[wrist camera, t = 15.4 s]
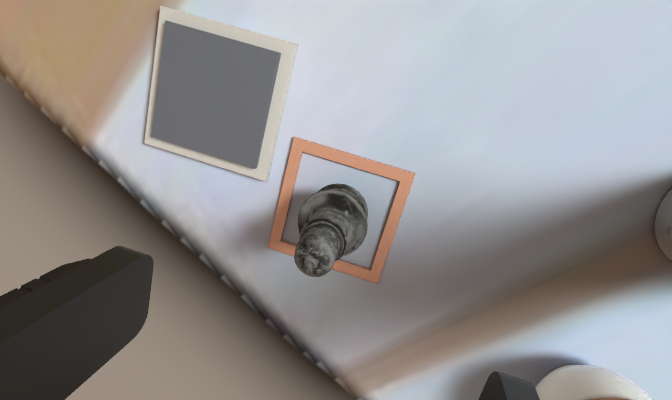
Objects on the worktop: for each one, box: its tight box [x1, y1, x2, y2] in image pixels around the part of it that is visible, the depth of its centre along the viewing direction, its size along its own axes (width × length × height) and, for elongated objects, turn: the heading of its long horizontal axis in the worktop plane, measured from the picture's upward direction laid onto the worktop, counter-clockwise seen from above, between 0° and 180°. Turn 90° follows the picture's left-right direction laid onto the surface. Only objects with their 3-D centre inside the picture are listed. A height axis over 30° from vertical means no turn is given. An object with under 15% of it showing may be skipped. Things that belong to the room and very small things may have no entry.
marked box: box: [268, 137, 415, 284], centre depth 37 cm, size 11×11×1 cm
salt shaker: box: [294, 184, 368, 277], centre depth 31 cm, size 6×6×12 cm
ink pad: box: [144, 6, 298, 181], centre depth 35 cm, size 12×12×2 cm
